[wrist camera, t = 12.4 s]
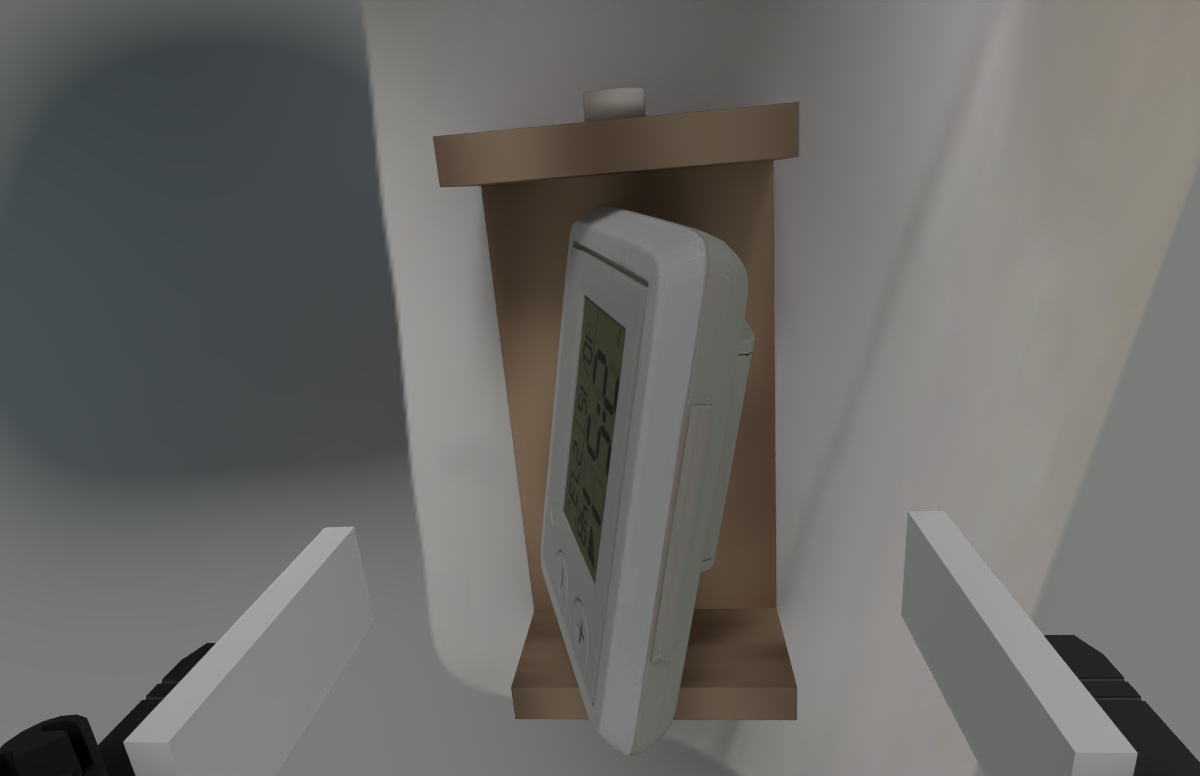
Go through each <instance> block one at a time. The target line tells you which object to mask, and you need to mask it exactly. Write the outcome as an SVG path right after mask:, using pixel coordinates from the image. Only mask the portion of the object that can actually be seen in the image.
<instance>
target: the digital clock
mask: <svg viewBox="0 0 1200 776" xmlns="http://www.w3.org/2000/svg"><path fill="white" fill-rule="evenodd" d="M747 296H748V277H747V271H746V269H745V267H744V265H743V263H742V262H741V260H740V258H739V257H738V256H737V254H736V253H735V252H734V251H733V250H732V249H731V248H730V247H729V246H728V245H727V244H726V243H725V242H724V241H722V240H720V239H718V238H716V237H714V236H712V235H710V234H708V233H706V232H703V231H700V230H698V229H695V228H691V227H688V226H684V225H681V224H677V223H673V222H670V221H666V220H662V219H659V218H655V217H651V216H648V215H644V214H640V213H637V212H633V211H629V210H626V209H622V208H618V207H614V206H610V205H603V204H600V205H597V206H596V207H594V208H593V209H591V210H590V211H588V212H587V213H585V214H584V215H583V216H582V217H580V218H579V219H578V220H576V221H575V222H574V223H573V225H572V228H571V232H570V238H569V247H568V257H567V267H566V277H565V287H564V298H563V309H562V320H561V330H560V341H559V352H558V363H557V374H556V385H555V396H554V407H553V418H552V428H551V439H550V450H549V461H548V472H547V483H546V494H545V505H544V516H543V528H542V540H541V566H542V572H543V575H544V579H545V582H546V585H547V589H548V592H549V595H550V598H551V601H552V604H553V608H554V611H555V614H556V617H557V620H558V623H559V626H560V630H561V633H562V636H563V639H564V642H565V645H566V649H567V652H568V655H569V658H570V661H571V664H572V667H573V671H574V674H575V677H576V680H577V683H578V686H579V690H580V693H581V696H582V699H583V702H584V705H585V708H586V711H587V714H588V717H589V720H590V723H591V725H592V727H593V730H594V732H595V733H596V734H597V735H599V736H600V737H601V738H602V739H604V740H605V741H606V742H607V743H608V744H610V745H611V746H612V747H614V748H615V749H616V750H618V751H619V752H620V753H622V754H623V755H624V756H628V755H630V756H633V755H636V754H639V753H642V752H643V751H645V750H647V749H648V748H650V747H651V746H652V745H653V744H654V743H655V742H656V741H657V740H658V739H659V738H660V737H661V736H662V735H663V734H664V733H665V731H666V730H667V729H668V727H669V726H670V724H671V722H672V719H673V717H674V714H675V710H676V705H677V700H678V694H679V689H680V684H681V679H682V673H683V668H684V663H685V658H686V652H687V646H688V640H689V635H690V629H691V623H692V618H693V612H694V606H695V600H696V595H697V589H698V583H699V578H700V572H703V571H707V570H710V568H711V567H712V566H713V564H714V561H715V555H716V550H717V544H718V539H719V533H720V527H721V522H722V516H723V511H724V505H725V500H726V494H727V489H728V483H729V478H730V472H731V467H732V461H733V456H734V450H735V445H736V439H737V434H738V428H739V422H740V417H741V411H742V406H743V400H744V395H745V389H746V384H747V378H748V373H749V367H750V362H751V356H752V351H753V345H754V339H755V338H754V334H753V332H752V330H751V329H750V327H749V325H748V323H747V322H746V320H745V318H744V316H745V309H746V303H747Z"/></svg>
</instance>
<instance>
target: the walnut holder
mask: <svg viewBox="0 0 1200 776" xmlns="http://www.w3.org/2000/svg"><path fill="white" fill-rule="evenodd" d="M583 105H584V118H585V122H582V123H572V124H561V125H551V126H540V127H529V128H519V129H508V130H498V131H487V132H477V133H466V134H455V135H445V136H434V137H433V140H434V147H435V154H436V161H437V168H438V175H439V183H440V187H460V186H481V189H482V197H483V205H484V213H485V221H486V229H487V237H488V245H489V253H490V261H491V269H492V277H493V285H494V292H495V300H496V308H497V316H498V324H499V332H500V340H501V348H502V356H503V364H504V372H505V380H506V388H507V396H508V404H509V412H510V420H511V428H512V436H513V444H514V452H515V460H516V468H517V476H518V484H519V492H520V500H521V508H522V516H523V524H524V532H525V540H526V548H527V556H528V564H529V572H530V580H531V588H532V596H533V604H534V614H533V617H532V621H531V624H530V627H529V631H528V634H527V637H526V641H525V644H524V647H523V651H522V654H521V657H520V660H519V664H518V667H517V670H516V674H515V677H514V680H513V684H512V687H511V690H512V697H513V704H514V711H515V718H516V719H589V717H588V714H587V711H586V708H585V705H584V702H583V699H582V696H581V693H580V690H579V686H578V683H577V680H576V677H575V674H574V671H573V667H572V664H571V661H570V658H569V655H568V652H567V649H566V645H565V642H564V639H563V636H562V633H561V630H560V626H559V623H558V620H557V617H556V614H555V611H554V608H553V604H552V601H551V598H550V595H549V592H548V589H547V585H546V582H545V579H544V575H543V572H542V566H541V540H542V528H543V516H544V505H545V494H546V483H547V472H548V461H549V450H550V439H551V428H552V418H553V407H554V396H555V385H556V374H557V363H558V352H559V341H560V330H561V320H562V309H563V298H564V287H565V277H566V267H567V257H568V247H569V238H570V232H571V228H572V225H573V223H574V222H575V221H576V220H578V219H579V218H580V217H582V216H583V215H584V214H585V213H587V212H588V211H590V210H591V209H593V208H594V207H596V206H597V205H600V204H603V205H610V206H614V207H618V208H622V209H626V210H629V211H633V212H637V213H640V214H644V215H648V216H651V217H655V218H659V219H662V220H666V221H670V222H673V223H677V224H681V225H684V226H688V227H691V228H695V229H698V230H700V231H703V232H706V233H708V234H710V235H712V236H714V237H716V238H718V239H720V240H722V241H724V242H725V243H726V244H727V245H728V246H729V247H730V248H731V249H732V250H733V251H734V252H735V253H736V254H737V256H738V257H739V258H740V260H741V262H742V263H743V265H744V267H745V269H746V271H747V277H748V296H747V303H746V309H745V316H744V318H745V320H746V322H747V323H748V325H749V327H750V329H751V330H752V332H753V334H754V338H755V339H754V345H753V351H752V356H751V362H750V367H749V373H748V378H747V384H746V389H745V395H744V400H743V406H742V411H741V417H740V422H739V428H738V434H737V439H736V445H735V450H734V456H733V461H732V467H731V472H730V478H729V483H728V489H727V494H726V500H725V505H724V511H723V516H722V522H721V527H720V533H719V539H718V544H717V550H716V555H715V561H714V564H713V566H712V567H711V568H710V570H707V571H703V572H700V578H699V583H698V589H697V595H696V600H695V606H694V612H693V618H692V623H691V629H690V635H689V640H688V646H687V652H686V658H685V663H684V668H683V673H682V679H681V684H680V689H679V694H678V700H677V705H676V710H675V714H674V717H673V719H672V720H797V686H796V682H795V678H794V674H793V670H792V666H791V663H790V659H789V655H788V651H787V647H786V643H785V639H784V636H783V632H782V628H781V624H780V620H779V616H778V612H777V609H776V496H775V356H774V216H773V161H775V160H781V159H786V158H792V157H798V156H799V102H794V103H783V104H773V105H762V106H752V107H741V108H730V109H720V110H709V111H699V112H688V113H678V114H667V115H656V116H646V117H645V100H644V89H642V88H614V89H605V90H598V91H593V92H588V93H585V94H583Z"/></svg>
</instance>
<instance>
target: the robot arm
mask: <svg viewBox="0 0 1200 776" xmlns="http://www.w3.org/2000/svg"><path fill="white" fill-rule="evenodd" d="M902 617H903V619H904V621H905V623H906V625H907V627H908V629H909V631H910V632H911V634H912V636H913V638H914V640H915V642H916V644H917V646H918V648H919V650H920V652H921V654H922V655H923V657H924V659H925V661H926V663H927V665H928V667H929V669H930V671H931V673H932V675H933V677H934V679H935V680H936V682H937V684H938V686H939V688H940V690H941V692H942V694H943V696H944V698H945V700H946V702H947V703H948V705H949V707H950V709H951V711H952V713H953V715H954V717H955V719H956V721H957V723H958V725H959V727H960V728H961V730H962V732H963V734H964V736H965V738H966V740H967V742H968V744H969V746H970V748H971V750H972V751H973V753H974V755H975V757H976V759H977V761H978V763H979V765H980V767H981V769H982V771H983V773H984V775H985V776H1200V762H1199V761H1198V760H1197V759H1196V758H1195V757H1194V755H1193V754H1192V753H1191V752H1190V751H1189V750H1188V749H1187V748H1186V746H1185V745H1184V744H1183V743H1182V742H1181V741H1180V740H1179V739H1178V738H1177V736H1176V735H1174V733H1173V732H1172V731H1171V730H1170V729H1169V727H1167V725H1166V724H1165V723H1164V722H1163V721H1162V720H1161V718H1160V717H1159V716H1158V715H1157V714H1156V713H1155V712H1154V711H1153V710H1152V709H1151V707H1150V706H1149V705H1148V704H1147V703H1146V702H1145V701H1142V700H1141V696H1140V695H1139V694H1138V693H1137V692H1136V690H1135V689H1134V688H1133V687H1132V686H1131V685H1130V684H1129V683H1128V682H1125V681H1124V677H1123V676H1122V675H1121V674H1120V672H1119V671H1118V670H1117V669H1116V668H1115V667H1114V666H1113V665H1112V664H1111V663H1110V661H1109V660H1108V659H1107V658H1106V657H1105V656H1104V655H1103V654H1102V653H1100V652H1099V651H1097V650H1096V649H1094V648H1093V647H1091V646H1090V645H1088V644H1087V643H1085V642H1083V641H1082V640H1081V639H1079V638H1078V637H1076V636H1074V635H1043V634H1042V633H1041V632H1040V630H1039V629H1038V628H1037V627H1036V626H1035V624H1034V623H1033V622H1032V620H1031V619H1030V618H1029V617H1028V615H1027V614H1026V613H1025V612H1024V610H1023V609H1022V608H1021V607H1020V605H1019V604H1018V603H1017V602H1016V600H1015V599H1014V598H1013V597H1012V595H1011V594H1010V593H1009V592H1008V590H1007V589H1006V588H1005V587H1004V585H1003V584H1002V583H1001V582H1000V580H999V579H998V578H997V577H996V575H995V574H994V573H993V572H992V570H991V569H990V568H989V567H988V565H987V564H986V563H985V562H984V560H983V559H982V558H981V557H980V555H979V554H978V553H977V552H976V550H975V549H974V548H973V547H972V545H971V544H970V543H969V542H968V540H967V539H966V538H965V537H964V535H963V534H962V533H961V532H960V530H959V529H958V528H957V527H956V525H955V524H954V523H953V522H952V520H951V519H950V518H949V517H948V515H947V514H946V513H945V512H944V511H912V512H908V520H907V536H906V552H905V568H904V584H903V600H902ZM374 621H375V620H374V616H373V611H372V607H371V602H370V597H369V593H368V589H367V583H366V579H365V574H364V569H363V565H362V560H361V556H360V551H359V546H358V542H357V537H356V533H355V528H354V527H331V528H324V529H323V530H322V531H321V532H320V534H319V535H318V536H317V537H316V538H315V539H314V540H313V541H312V542H311V543H310V544H309V545H308V546H307V547H306V549H305V550H303V552H302V553H301V554H300V555H299V556H298V557H297V558H296V559H295V560H294V561H293V562H292V563H291V564H290V565H289V566H288V568H287V569H286V570H285V571H284V572H283V573H282V574H281V575H280V576H279V577H278V578H277V579H276V580H275V581H274V583H272V584H271V586H270V587H269V588H268V589H267V590H266V591H265V592H264V593H263V594H262V595H261V596H260V597H259V599H257V600H256V602H255V603H254V604H253V605H252V606H251V607H250V608H249V609H248V610H247V611H246V612H245V613H244V614H243V615H242V616H241V617H240V618H239V620H238V621H237V622H236V623H235V624H234V625H233V626H232V627H231V628H230V629H229V630H228V631H227V632H226V634H225V635H223V637H222V638H221V639H220V640H219V641H218V642H217V643H206V644H205V645H203V646H202V647H200V648H199V649H198V650H196V651H195V652H193V653H191V654H190V655H188V656H187V657H185V658H184V659H182V660H181V661H180V662H179V663H178V664H177V665H176V666H175V667H174V668H173V669H172V670H171V671H170V672H169V673H168V674H167V675H166V676H165V677H164V678H163V679H162V683H161V684H157V685H156V686H155V687H154V689H153V690H152V691H151V692H150V693H149V694H148V695H147V696H146V699H145V700H142V701H141V702H140V703H139V704H138V705H137V706H136V707H135V708H134V709H133V710H132V711H131V712H130V713H129V714H128V715H127V716H126V717H125V718H124V719H123V720H122V721H121V722H120V723H119V724H118V725H117V726H116V727H115V728H114V729H113V730H112V731H111V732H110V733H109V734H108V736H106V738H105V739H103V741H102V742H101V743H100V744H99V745H97V742H96V740H95V737H94V735H93V732H92V729H91V727H90V724H89V722H88V720H87V718H85V717H82V716H79V715H65V716H60V717H56V718H53V719H49V720H46V721H43V722H41V723H39V724H37V725H35V726H32V727H30V728H29V729H26V730H24V731H22V732H21V733H19V734H18V735H16V736H15V737H13V738H12V739H11V740H9V741H8V742H6V743H5V744H4V745H3V746H2V747H1V748H0V776H276V774H277V773H278V771H279V770H280V768H281V767H282V765H283V763H284V762H285V760H286V759H287V757H288V756H289V754H290V752H291V751H292V749H293V748H294V746H295V745H296V743H297V742H298V740H299V738H300V737H301V735H302V734H303V732H304V730H305V729H306V727H307V726H308V724H309V723H310V721H311V720H312V718H313V717H314V715H315V713H316V712H317V710H318V709H319V707H320V706H321V704H322V702H323V701H324V699H325V698H326V696H327V695H328V693H329V692H330V690H331V688H332V687H333V685H334V684H335V682H336V681H337V679H338V677H339V676H340V674H341V673H342V671H343V670H344V668H345V667H346V665H347V663H348V662H349V660H350V659H351V657H352V655H353V654H354V652H355V651H356V649H357V648H358V646H359V645H360V643H361V642H362V640H363V638H364V637H365V635H366V634H367V632H368V631H369V629H370V627H371V626H372V624H373V623H374Z"/></svg>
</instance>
